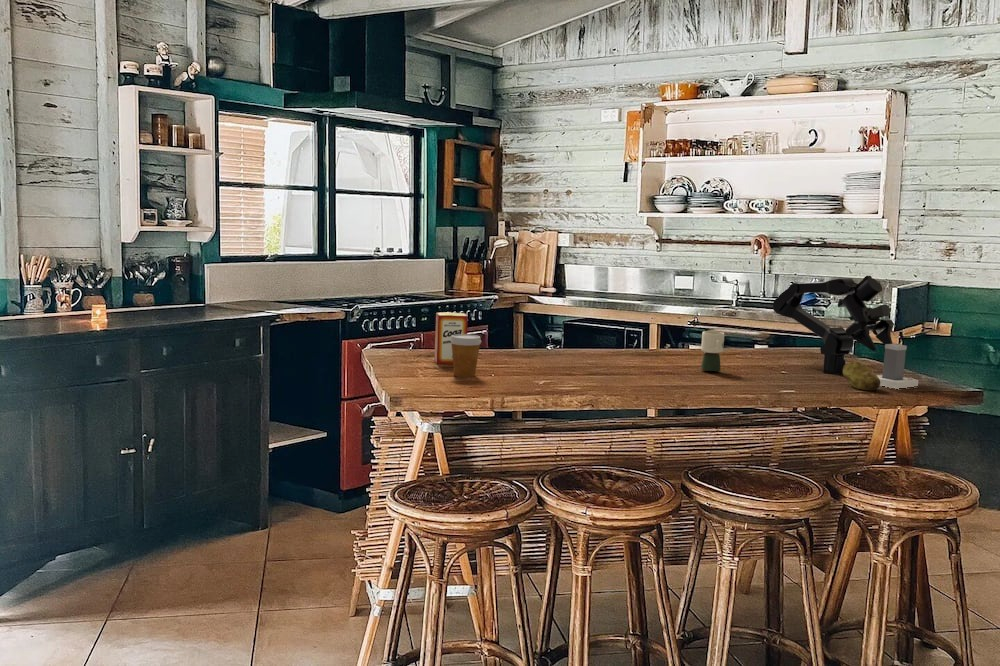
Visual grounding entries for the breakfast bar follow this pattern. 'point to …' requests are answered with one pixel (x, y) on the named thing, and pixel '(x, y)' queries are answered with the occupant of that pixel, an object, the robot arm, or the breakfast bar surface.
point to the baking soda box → (448, 334)
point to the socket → (898, 382)
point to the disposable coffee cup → (465, 354)
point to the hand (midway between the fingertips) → (883, 349)
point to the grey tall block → (894, 361)
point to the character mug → (712, 350)
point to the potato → (860, 376)
